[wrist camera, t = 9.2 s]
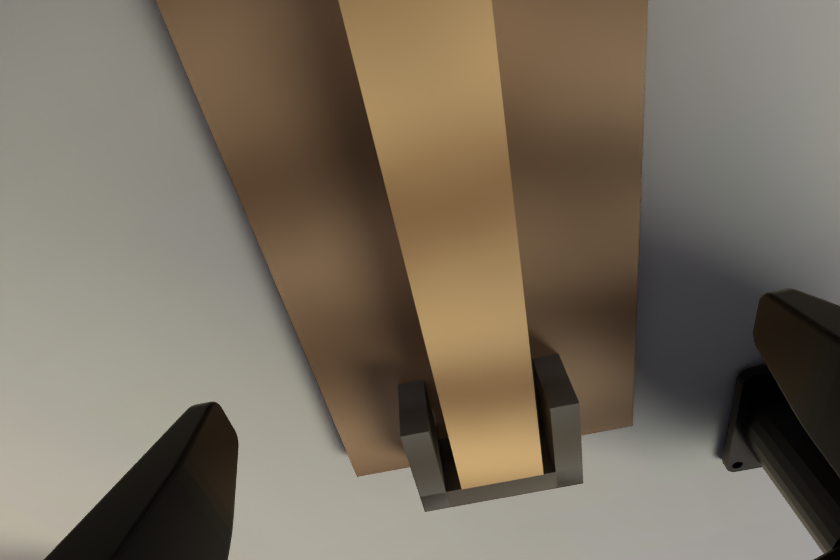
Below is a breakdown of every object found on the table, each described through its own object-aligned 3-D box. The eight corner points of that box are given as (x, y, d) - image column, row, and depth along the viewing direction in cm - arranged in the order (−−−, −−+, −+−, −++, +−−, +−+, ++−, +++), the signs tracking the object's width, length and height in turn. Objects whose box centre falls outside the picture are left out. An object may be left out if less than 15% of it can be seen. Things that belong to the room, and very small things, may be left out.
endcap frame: (623, 408, 24) (658, 476, 21) (357, 457, 24) (355, 530, 21) (645, -612, 9) (766, -854, 6) (-5, -428, 10) (-161, -572, 7)
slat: (524, 411, 22) (543, 474, 19) (452, 425, 22) (461, 489, 20) (419, -409, 10) (434, -520, 7) (260, -365, 10) (221, -462, 7)
